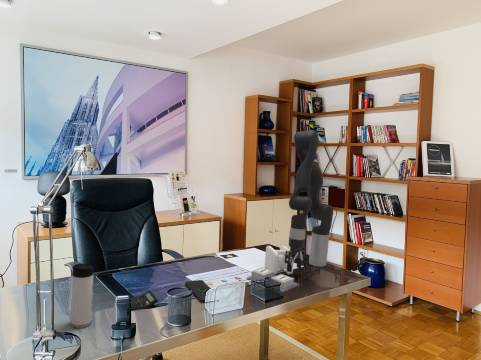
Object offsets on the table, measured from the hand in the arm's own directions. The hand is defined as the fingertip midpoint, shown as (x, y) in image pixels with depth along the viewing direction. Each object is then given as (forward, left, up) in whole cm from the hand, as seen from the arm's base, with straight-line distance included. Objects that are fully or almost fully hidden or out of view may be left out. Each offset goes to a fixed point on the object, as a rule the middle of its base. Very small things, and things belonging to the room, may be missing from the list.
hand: (294, 269), depth 181 cm
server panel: (+14, -2, -4) cm, 15 cm away
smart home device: (+47, -15, -4) cm, 49 cm away
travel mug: (+95, -21, -4) cm, 97 cm away
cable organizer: (-1, -10, -4) cm, 10 cm away
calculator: (+72, -22, -4) cm, 76 cm away
